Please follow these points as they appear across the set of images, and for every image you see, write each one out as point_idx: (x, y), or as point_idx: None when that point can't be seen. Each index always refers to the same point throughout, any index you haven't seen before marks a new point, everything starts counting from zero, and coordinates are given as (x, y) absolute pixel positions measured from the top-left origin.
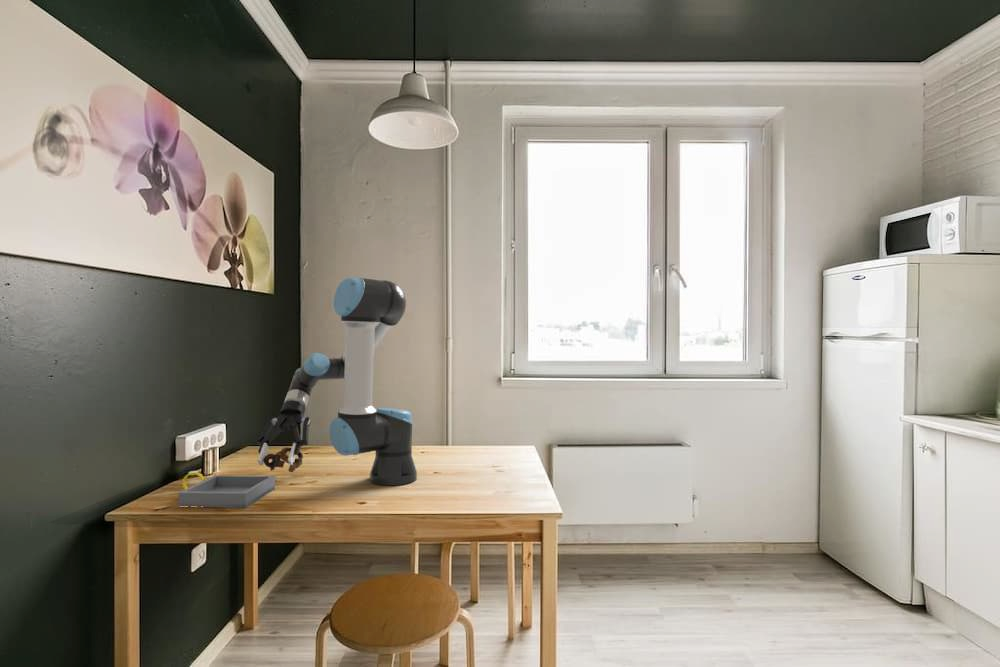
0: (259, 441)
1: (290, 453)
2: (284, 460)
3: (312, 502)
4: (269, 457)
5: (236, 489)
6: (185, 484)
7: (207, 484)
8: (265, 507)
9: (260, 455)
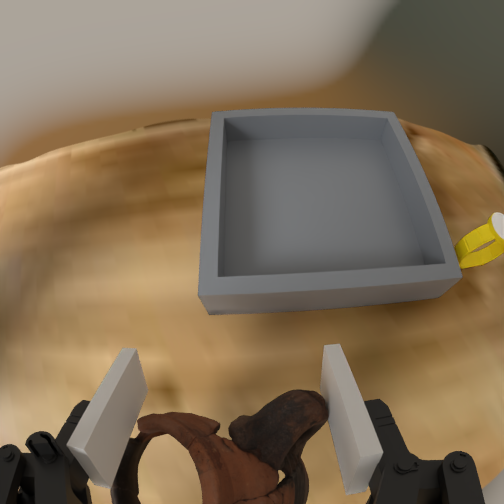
0: (439, 467)
1: (114, 379)
2: (184, 414)
3: (69, 199)
4: (280, 395)
5: (333, 249)
6: (498, 249)
7: (421, 212)
8: (170, 152)
9: (339, 367)
